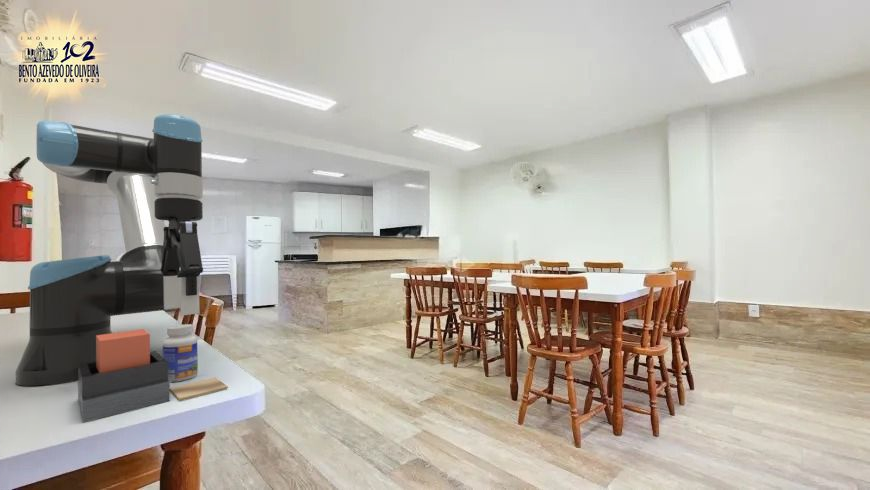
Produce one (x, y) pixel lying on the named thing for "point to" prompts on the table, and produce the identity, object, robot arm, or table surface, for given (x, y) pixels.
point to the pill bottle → (181, 353)
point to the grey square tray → (122, 388)
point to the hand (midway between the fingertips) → (180, 311)
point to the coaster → (197, 389)
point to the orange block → (122, 350)
